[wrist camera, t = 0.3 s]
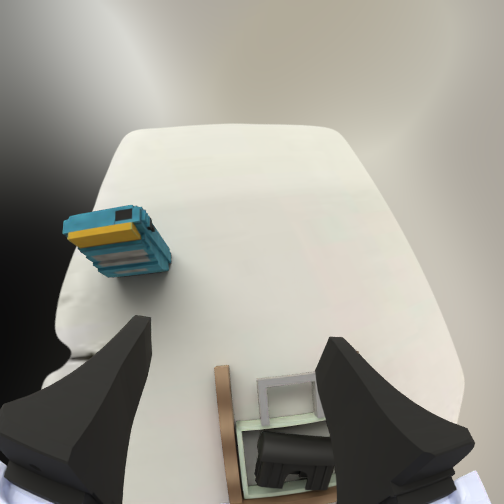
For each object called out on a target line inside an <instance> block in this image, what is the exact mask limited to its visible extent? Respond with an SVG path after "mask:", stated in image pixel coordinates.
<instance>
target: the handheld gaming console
mask: <svg viewBox="0 0 504 504" xmlns="http://www.w3.org/2000/svg"><path fill="white" fill-rule="evenodd" d="M63 234H64V235H65V236H67V237H68V240H69V241H70V242H72V243H73V244H75V245H76V246H77V247H78V250H80V252H81V253H83V254H84V255H86V258H87V259H89V260H90V261H92V262H93V266H95V267H96V268H98V272H100V273H102V274H103V275H105V276H107V277H108V278H109V277H123V276H132V275H140V274H149V273H158V272H166V271H168V270H169V265H168V263H171V253H170V249H169V247H168V246H167V244H166V243H165V241H164V240H163V239H162V237H161V236H160V234H159V233H158V231H157V230H156V228H155V227H154V225H153V224H152V220H151V218H150V217H149V216H148V213H146V210H143V208H142V207H138V206H133V205H128V206H122V207H116V208H111V209H105V210H99V211H94V212H89V213H84V214H79V215H74V216H70V218H69V219H68V220H64V225H63Z"/></svg>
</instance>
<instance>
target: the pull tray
mask: <svg viewBox="0 0 504 504" xmlns="http://www.w3.org/2000/svg"><path fill="white" fill-rule="evenodd" d="M305 382H312V393H313V405H314V412H313V413H307V414H300V415H294V416H286V417H278V418H269V410H268V399H267V388H266V387H273V386H282V385H290V384H298V383H305ZM257 389H258V400H259V411H260V420H248V421H236V431H237V440H238V450H239V458H240V467H241V475H242V484H243V492H244V499H250V498H262V497H271V496H280V495H287V494H294V493H300V492H306V491H312V490H305V486H306V482H307V479H303V480H297V481H291V482H284V485H283V488H282V489H277V488H266V487H260V486H258V485H256V486H248V482H247V473H246V464H245V455H244V446H243V437H242V431H248V430H260V429H269V428H278V427H286V426H293V425H300V424H306V423H313V422H318V421H324V420H326V419H325V415H324V412H323V408H322V405H321V401H320V398H319V394H318V389H317V383H316V375H315V371H314V372H308V373H300V374H293V375H285V376H276V377H266V378H257ZM331 486H336V473H334V474H332V476H331V480H330V483H329V486H328V487H331Z"/></svg>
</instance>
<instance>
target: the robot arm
mask: <svg viewBox="0 0 504 504" xmlns="http://www.w3.org/2000/svg"><path fill="white" fill-rule="evenodd" d="M151 357H152V345H151V318H150V317H144V316H138V315H135V316H134V317H133V318H132V319H131V320H130V321H129V322H128V323H127V324H126V325H125V326H124V327H123V328H122V329H121V330H120V332H119V333H118V334H117V335H116V336H115V337H114V338H112V339H111V340H110V341H109V342H108V343H107V344H106V345H105V346H104V347H103V348H102V349H101V350H100V351H98V352H97V353H96V354H95V355H94V356H93V357H91V358H90V359H89V360H88V361H87V362H85V363H84V364H83V365H81V366H80V367H79V368H77V369H76V370H74V371H73V372H72V373H70V374H69V375H67V376H65V377H64V378H62V379H61V380H59V381H57V382H55V383H54V384H52V385H50V386H48V387H46V388H44V389H42V390H40V391H38V392H36V393H33V394H31V395H29V396H26V397H23V398H20V399H17V400H14V401H12V402H9V403H6V404H4V405H3V406H2V408H1V410H0V450H1V451H2V452H3V454H4V455H5V456H6V457H7V458H8V459H9V463H8V466H6V465H4V464H3V463H2V462H0V504H122V499H123V485H124V475H125V466H126V458H127V451H128V445H129V439H130V433H131V428H132V424H133V420H134V417H135V414H136V411H137V407H138V404H139V401H140V398H141V395H142V392H143V389H144V386H145V383H146V380H147V377H148V372H149V367H150V362H151ZM315 375H316V383H317V389H318V394H319V398H320V401H321V405H322V408H323V412H324V415H325V419H326V422H327V426H328V429H329V433H330V437H331V442H332V448H333V455H334V463H335V473H336V489H337V504H491V502H490V500H489V498H488V495H487V493H486V491H485V488H484V486H483V484H482V482H481V480H480V477H479V475H478V473H477V471H476V470H474V471H472V472H470V473H468V474H466V475H464V476H462V477H460V478H458V479H456V480H455V481H453V480H452V477H451V476H453V475H454V474H455V471H454V469H453V467H454V466H455V465H456V464H457V463H459V462H460V461H461V460H462V459H463V458H464V457H465V456H467V455H468V454H469V452H471V450H472V449H473V448H474V445H475V442H474V440H473V438H472V436H471V435H470V432H469V431H468V429H467V428H465V427H462V426H460V425H457V424H454V423H452V422H449V421H447V420H445V419H443V418H441V417H439V416H437V415H435V414H433V413H431V412H429V411H427V410H426V409H424V408H422V407H421V406H419V405H417V404H416V403H414V402H413V401H411V400H410V399H409V398H407V397H406V396H405V395H403V394H402V393H401V392H399V391H398V390H397V389H395V388H394V387H393V386H392V385H391V384H390V383H388V382H387V381H386V380H385V379H384V378H383V377H382V376H381V375H380V374H379V373H378V372H377V371H375V370H374V369H373V368H372V367H371V366H370V365H369V364H368V363H367V361H366V360H365V359H364V358H363V357H362V356H361V355H360V354H359V353H358V352H357V351H356V350H355V349H354V348H353V347H352V346H351V345H350V344H349V343H348V342H347V341H346V340H345V339H344V338H343V337H329V339H328V342H327V344H326V346H325V349H324V351H323V353H322V356H321V358H320V360H319V363H318V365H317V367H316V370H315ZM220 504H230V503H220Z"/></svg>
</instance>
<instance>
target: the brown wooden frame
mask: <svg viewBox="0 0 504 504" xmlns="http://www.w3.org/2000/svg"><path fill="white" fill-rule="evenodd" d="M357 352H358V353H359V351H357ZM214 371H215V383H216V393H217V403H218V413H219V422H220V431H221V440H222V449H223V457H224V465H225V472H226V480H227V487H228V494H229V501H230V504H328V503H332V502H336V501H337V489H336V486H331V487H328V489H327V490H312V491H306V492H300V493H294V494H287V495H280V496H271V497H262V498H250V499H244V492H243V491H242V486H241V478H240V469H239V461H238V452H237V443H236V434H235V424H234V415H233V405H232V394H231V384H230V373H229V365H224V366H216V367H215V368H214Z"/></svg>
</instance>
